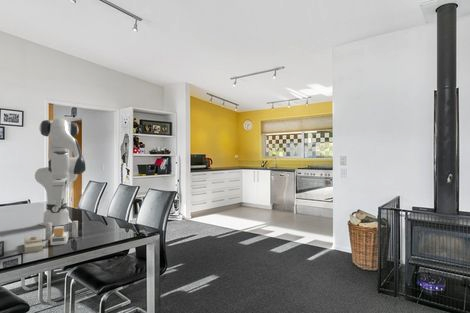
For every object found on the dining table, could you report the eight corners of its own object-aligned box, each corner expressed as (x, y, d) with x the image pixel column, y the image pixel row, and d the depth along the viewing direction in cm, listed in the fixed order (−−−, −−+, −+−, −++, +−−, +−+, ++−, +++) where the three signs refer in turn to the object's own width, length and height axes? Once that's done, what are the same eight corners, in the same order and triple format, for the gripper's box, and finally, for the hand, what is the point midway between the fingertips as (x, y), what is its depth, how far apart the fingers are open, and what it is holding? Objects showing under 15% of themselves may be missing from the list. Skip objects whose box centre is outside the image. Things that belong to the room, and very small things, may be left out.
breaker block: (54, 239, 169) (54, 232, 169) (68, 238, 171) (68, 231, 171) (50, 245, 158) (50, 237, 158) (65, 244, 160) (65, 236, 160)
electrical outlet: (24, 245, 145) (24, 237, 159) (24, 254, 145) (24, 245, 159) (42, 243, 149) (40, 235, 163) (42, 251, 149) (40, 242, 163)
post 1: (46, 238, 170) (46, 222, 170) (52, 238, 171) (52, 222, 171) (45, 240, 167) (45, 223, 168) (51, 239, 169) (51, 223, 169)
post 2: (72, 236, 175) (72, 221, 175) (78, 236, 176) (78, 220, 176) (71, 237, 172) (71, 222, 172) (77, 237, 174) (77, 221, 174)
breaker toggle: (54, 235, 161) (54, 226, 161) (63, 234, 163) (63, 226, 163) (54, 236, 159) (54, 227, 159) (62, 235, 161) (62, 227, 161)
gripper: (56, 179, 172) (56, 204, 172) (50, 182, 153) (49, 209, 153) (69, 179, 175) (68, 203, 175) (64, 182, 156) (64, 209, 156)
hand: (59, 206), depth 164 cm, fingers open, 8 cm apart
